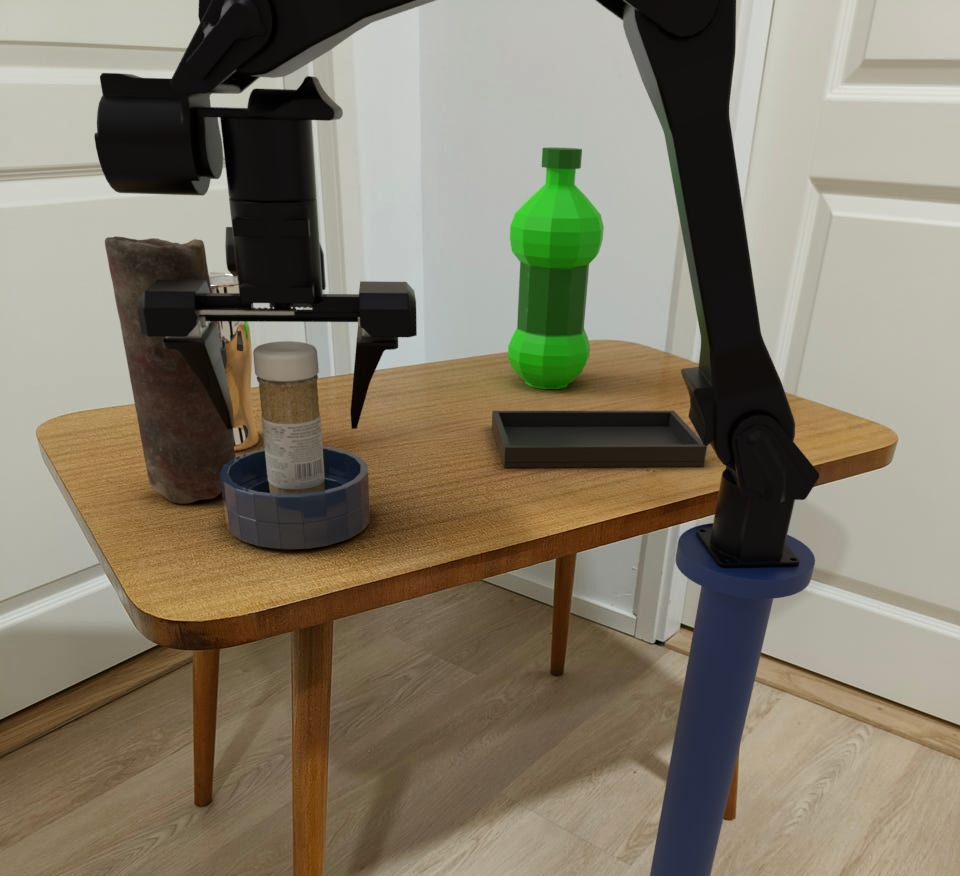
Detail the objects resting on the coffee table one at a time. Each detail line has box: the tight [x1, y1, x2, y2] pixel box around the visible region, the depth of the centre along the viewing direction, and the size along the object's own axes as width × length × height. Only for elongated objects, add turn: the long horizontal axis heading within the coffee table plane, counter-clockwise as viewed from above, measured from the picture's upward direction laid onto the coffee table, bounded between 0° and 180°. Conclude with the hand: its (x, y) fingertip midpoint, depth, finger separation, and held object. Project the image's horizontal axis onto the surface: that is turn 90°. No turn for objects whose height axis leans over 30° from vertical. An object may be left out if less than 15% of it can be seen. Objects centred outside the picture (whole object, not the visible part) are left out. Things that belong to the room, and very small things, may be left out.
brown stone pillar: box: [104, 235, 236, 505], centre depth 72 cm, size 8×7×20 cm
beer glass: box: [208, 271, 260, 452], centre depth 83 cm, size 7×7×15 cm
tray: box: [491, 410, 708, 469], centre depth 88 cm, size 11×19×2 cm, turn 95°
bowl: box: [220, 445, 371, 550], centre depth 70 cm, size 11×11×4 cm
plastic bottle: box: [507, 146, 605, 390], centre depth 102 cm, size 10×10×25 cm
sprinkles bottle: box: [253, 340, 325, 494], centre depth 68 cm, size 5×5×13 cm
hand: (293, 427), depth 67 cm, fingers open, 9 cm apart
